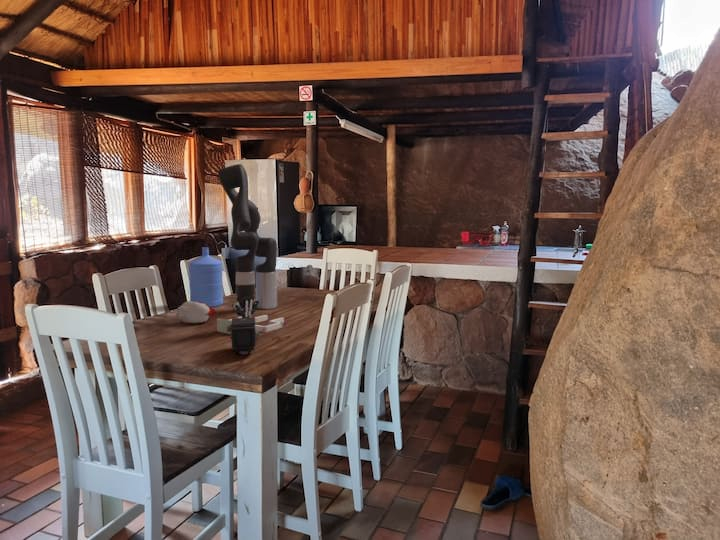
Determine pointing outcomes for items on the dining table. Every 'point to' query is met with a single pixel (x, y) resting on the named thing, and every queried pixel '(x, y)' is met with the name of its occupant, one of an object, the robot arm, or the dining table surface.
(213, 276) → the water jug
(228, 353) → the dining table surface
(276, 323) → the box
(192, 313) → the white and red lump
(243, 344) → the camera
